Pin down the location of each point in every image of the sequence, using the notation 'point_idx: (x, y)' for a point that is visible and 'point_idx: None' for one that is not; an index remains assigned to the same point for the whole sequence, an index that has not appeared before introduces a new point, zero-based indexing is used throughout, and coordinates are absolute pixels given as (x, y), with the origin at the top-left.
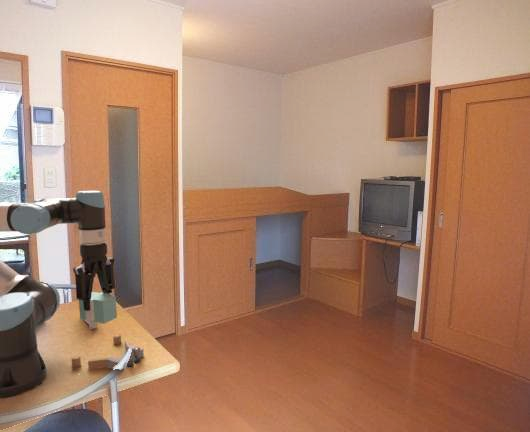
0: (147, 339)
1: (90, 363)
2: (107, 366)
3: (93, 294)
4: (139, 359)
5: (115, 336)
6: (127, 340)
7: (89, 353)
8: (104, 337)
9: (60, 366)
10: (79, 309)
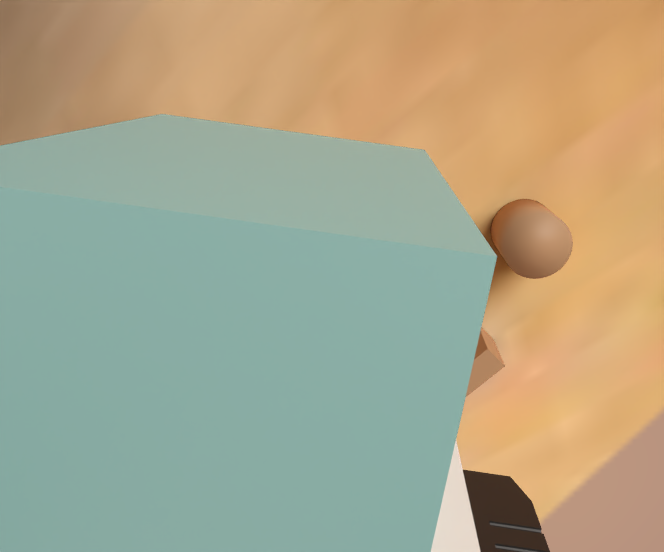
0: (628, 411)
1: None
2: None
3: (252, 500)
4: None
5: (527, 238)
6: (479, 377)
7: (303, 128)
8: (606, 37)
9: (64, 58)
10: (96, 127)
